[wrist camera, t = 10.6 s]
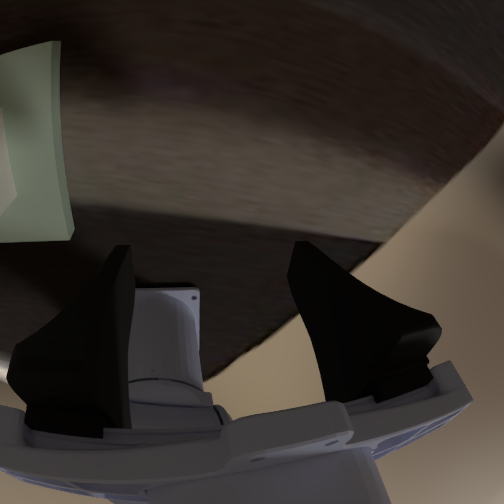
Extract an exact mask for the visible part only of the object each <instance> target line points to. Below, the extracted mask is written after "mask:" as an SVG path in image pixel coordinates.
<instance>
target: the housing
mask: <svg viewBox="0 0 504 504" xmlns="http://www.w3.org/2000/svg"><path fill="white" fill-rule="evenodd" d="M16 196H17V193H16V189H15V184H14V180H13V175H12V170H11V165H10V160H9V155H8V149H7V142H6V136H5V128H4V120H3V110H2V107H0V216H1V214H2V213H3V212H4V211H5V209H6V208H7V207H8V206H9V204H10V203H11V202H12V201H13V200H14V199H15V197H16Z"/></svg>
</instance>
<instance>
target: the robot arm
mask: <svg viewBox="0 0 504 504" xmlns="http://www.w3.org/2000/svg"><path fill="white" fill-rule="evenodd" d="M287 278H288V282H289V286H290V290H291V293H292V296H293V299H294V301H295V303H296V306H297V308H298V310H299V313H300V315H301V317H302V319H303V322H304V324H305V326H306V328H307V331H308V334H309V336H310V339H311V342H312V345H313V348H314V352H315V355H316V359H317V363H318V367H319V371H320V375H321V379H322V385H323V389H324V394H325V400H326V402H321V403H316V404H312V405H307V406H302V407H297V408H292V409H286V410H280V411H274V412H268V413H262V414H255V415H250V416H246V417H241V418H238V419H236V420H234V421H233V420H232V418H231V417H230V415H229V414H228V413H227V412H226V411H225V409H224V408H223V407H222V406H220V405H213V400H212V394H211V393H210V392H204V389H203V382H202V374H201V367H200V359H199V297H200V293H199V289H198V288H196V287H179V288H135V284H136V281H135V275H134V269H133V262H132V255H131V248H130V245H116V246H115V247H114V249H113V250H112V251H111V253H110V254H109V256H108V257H107V259H106V260H105V261H104V263H103V264H102V266H101V267H100V268H99V270H98V271H97V272H96V274H95V275H94V276H93V278H92V279H91V280H90V281H89V283H88V284H87V285H86V286H85V287H84V289H83V290H82V291H81V292H80V293H79V294H78V296H77V297H76V298H75V299H74V300H73V301H72V302H71V303H70V304H69V305H68V306H67V307H66V308H65V309H64V310H63V311H61V312H60V313H59V314H58V315H57V316H56V317H55V318H54V319H52V320H51V321H50V322H49V323H47V324H46V325H45V326H44V327H42V328H41V329H39V330H38V331H37V332H35V333H34V334H32V335H31V336H29V337H28V338H26V339H25V340H23V341H21V342H20V343H18V344H17V345H15V348H14V351H13V353H12V357H11V361H10V364H9V368H8V372H7V377H6V378H7V381H8V384H9V385H10V387H11V388H12V389H13V390H14V392H15V393H16V394H17V395H18V396H19V397H20V398H21V399H22V400H23V401H24V402H25V403H26V404H27V409H26V413H25V412H24V411H22V410H19V409H16V408H11V407H7V406H2V405H0V470H1V471H3V472H5V473H7V474H9V475H11V476H13V477H15V478H17V479H19V480H21V481H23V482H27V483H30V484H34V485H39V486H42V487H46V488H51V489H55V490H60V491H64V492H69V493H74V494H79V495H85V496H91V497H97V498H104V499H109V500H110V501H111V502H113V503H114V504H391V502H390V499H389V497H388V494H387V491H386V489H385V486H384V484H383V482H382V479H381V476H380V473H379V471H378V468H377V466H376V463H375V461H374V460H376V459H379V458H381V457H383V456H385V455H387V454H390V453H392V452H394V451H396V450H398V449H400V448H402V447H404V446H406V445H408V444H410V443H412V442H414V441H416V440H418V439H420V438H422V437H423V436H425V435H427V434H429V433H431V432H432V431H435V430H436V429H438V428H440V427H442V426H443V425H445V424H446V423H447V422H449V421H450V420H451V419H452V418H454V417H455V416H456V415H458V414H459V413H460V412H461V411H462V410H464V409H465V408H466V407H467V406H468V405H470V404H471V403H472V402H473V398H472V397H471V395H470V393H469V391H468V389H467V388H466V386H465V384H464V383H463V381H462V379H461V377H460V376H459V374H458V372H457V371H456V369H455V367H454V366H453V364H452V363H451V361H446V362H444V363H441V364H439V365H436V366H435V367H433V368H431V369H430V370H429V368H428V367H427V364H428V363H429V359H428V358H427V356H426V355H427V354H428V353H429V352H430V350H431V349H432V348H433V347H434V345H435V344H436V343H437V341H438V340H439V338H440V336H441V333H442V328H441V327H440V325H439V324H438V322H437V321H436V319H435V318H434V316H433V315H432V314H429V313H425V312H423V311H420V310H417V309H414V308H411V307H409V306H406V305H404V304H401V303H399V302H397V301H394V300H393V299H390V298H389V297H387V296H385V295H382V294H381V293H379V292H377V291H375V290H374V289H372V288H371V287H369V286H367V285H365V284H364V283H362V282H361V281H359V280H358V279H356V278H355V277H354V276H352V275H351V274H350V273H348V272H347V271H346V270H344V269H343V268H342V267H340V266H339V265H338V264H336V263H335V262H334V261H333V260H331V259H330V258H329V257H328V256H327V255H325V254H324V253H323V252H322V251H320V250H319V249H318V248H317V247H315V246H314V245H313V244H311V243H310V242H309V241H295V245H294V249H293V253H292V257H291V261H290V265H289V269H288V273H287ZM192 296H195V297H192Z"/></svg>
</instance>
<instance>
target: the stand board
mask: <svg viewBox="0 0 504 504" xmlns="http://www.w3.org/2000/svg"><path fill="white" fill-rule="evenodd" d="M60 51H61V41H50V42H45V43H41V44H37V45H33V46H29V47H25V48H22V49H18V50H15V51H12V52H8V53H5V54H2V55H0V107H2V110H3V120H4V128H5V136H6V142H7V149H8V155H9V160H10V165H11V170H12V175H13V180H14V184H15V189H16V193H17V196H16V197H15V199H14V200H13V201H12V202H11V203H10V204H9V206H8V207H7V208H6V209H5V211H4V212H3V213H2V214H1V216H0V243H8V242H32V241H60V240H70V238H71V236H72V234H73V232H74V230H75V228H74V223H73V218H72V212H71V207H70V201H69V195H68V188H67V181H66V174H65V166H64V157H63V147H62V135H61V119H60Z"/></svg>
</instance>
